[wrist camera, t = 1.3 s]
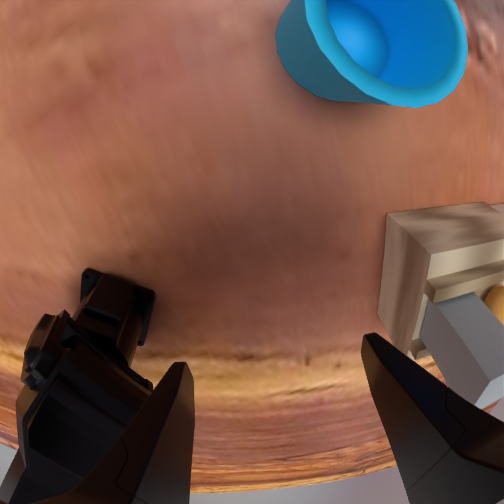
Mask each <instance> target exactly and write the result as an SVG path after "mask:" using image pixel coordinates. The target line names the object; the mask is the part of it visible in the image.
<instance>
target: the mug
mask: <svg viewBox="0 0 504 504" xmlns="http://www.w3.org/2000/svg"><path fill="white" fill-rule="evenodd" d="M276 42H277V52H278V54H279V56H280V59H281V61H282V63H283V65H284V68H285V70H286V71H287V72H288V73H289V74H290V75H291V76H292V78H293V79H294V80H295V81H296V82H297V83H298V84H299V85H300V86H302V87H303V88H305V89H306V90H308V91H309V92H311V93H312V94H314V95H316V96H319V97H322V98H326V99H329V100H331V101H346V102H362V103H375V104H385V105H395V106H405V107H413V108H419V107H423V106H426V105H430V104H434V103H438V102H440V101H441V100H442V99H443V98H445V97H446V96H447V95H449V94H450V93H451V92H452V91H454V90H455V88H456V86H457V84H458V83H459V81H460V79H461V77H462V76H463V74H464V71H465V66H466V60H467V54H468V46H467V37H466V30H465V26H464V23H463V21H462V18H461V15H460V13H459V10H458V8H457V6H456V4H455V2H454V1H453V0H291V1H290V3H289V4H288V6H287V7H286V9H285V11H284V12H283V14H282V16H281V17H280V21H279V24H278V28H277V31H276Z"/></svg>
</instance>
